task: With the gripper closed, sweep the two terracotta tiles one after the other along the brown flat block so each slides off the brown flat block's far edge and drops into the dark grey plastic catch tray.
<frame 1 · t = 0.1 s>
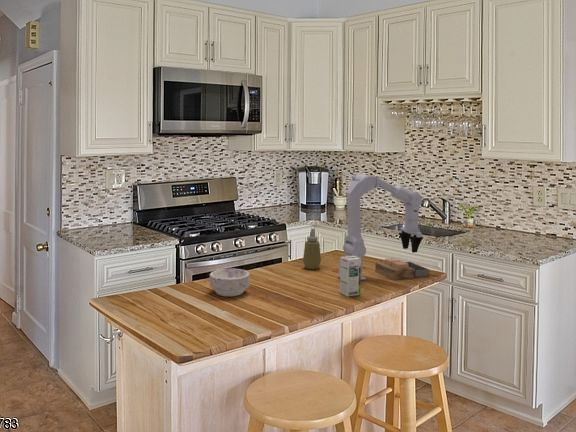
hand: (409, 250, 251), 10 cm above the counter, tool pointing down, fingers open, 7 cm apart
squeeze bottle: (311, 268, 258), on the counter
brown flat block: (394, 274, 249), on the counter
marbled grey bowl: (229, 293, 219), on the counter
syrup box: (349, 294, 220), on the counter
tile far: (392, 263, 251), point 4 cm above the counter, touching brown flat block
catch tray: (412, 272, 252), on the counter
tile near: (400, 267, 246), point 4 cm above the counter, touching brown flat block
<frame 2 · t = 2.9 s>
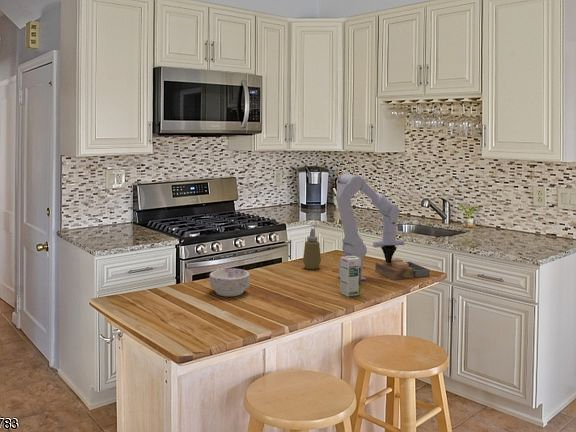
hand: (388, 262, 250), 5 cm above the counter, tool pointing down, fingers closed
tile far: (394, 263, 252), point 4 cm above the counter, touching brown flat block, gripper
everything else where it was.
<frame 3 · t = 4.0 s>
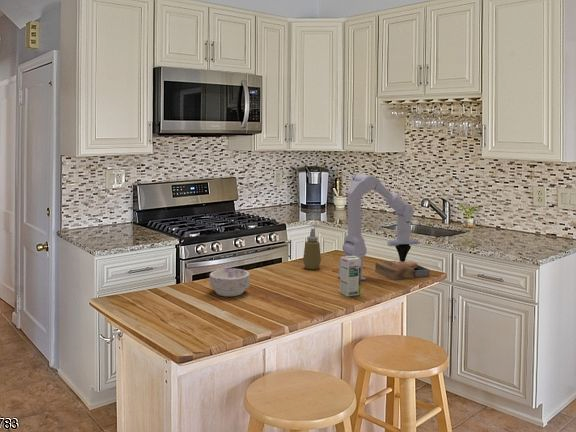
hand: (402, 261, 253), 5 cm above the counter, tool pointing down, fingers closed
tile far: (408, 264, 255), point 3 cm above the counter, tilted 161°, touching catch tray
everything else where it was.
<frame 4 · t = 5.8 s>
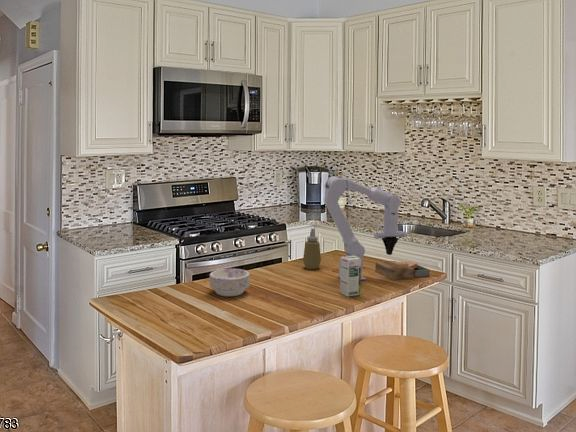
hand: (389, 254, 244), 10 cm above the counter, tool pointing down, fingers closed
nothing on the counter moved.
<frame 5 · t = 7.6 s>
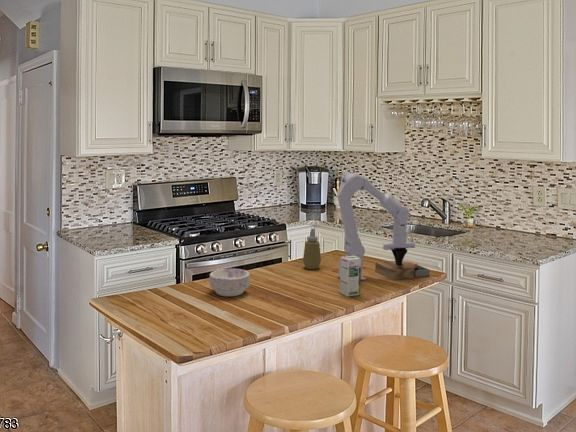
hand: (398, 265, 245), 5 cm above the counter, tool pointing down, fingers closed
tile near: (405, 266, 247), point 4 cm above the counter, touching gripper
everything else where it was.
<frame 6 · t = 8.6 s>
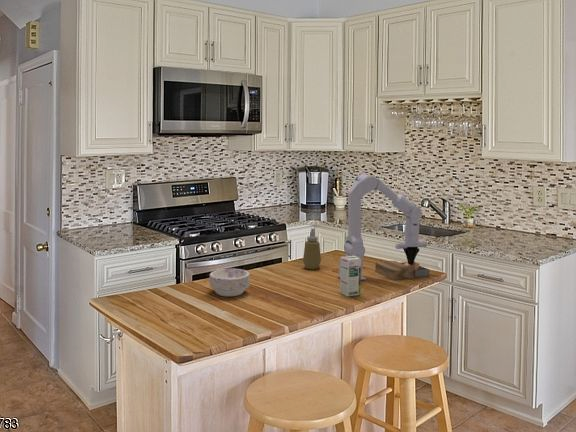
hand: (410, 264, 247), 5 cm above the counter, tool pointing down, fingers closed
tile near: (411, 267, 248), point 3 cm above the counter, tilted 103°, touching catch tray, gripper
everything else where it was.
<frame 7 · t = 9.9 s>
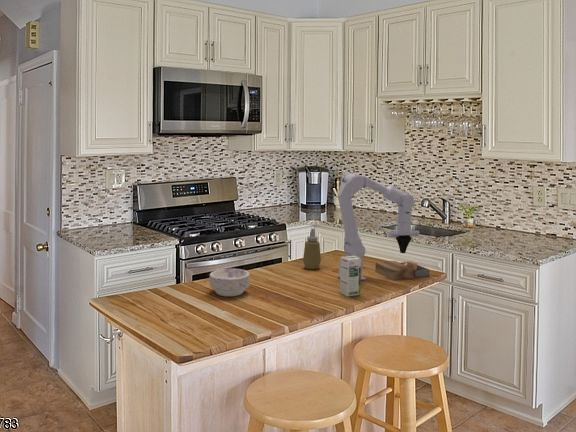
hand: (402, 252, 247), 10 cm above the counter, tool pointing down, fingers closed
tile near: (410, 268, 248), point 3 cm above the counter, tilted 90°, touching catch tray
everything else where it was.
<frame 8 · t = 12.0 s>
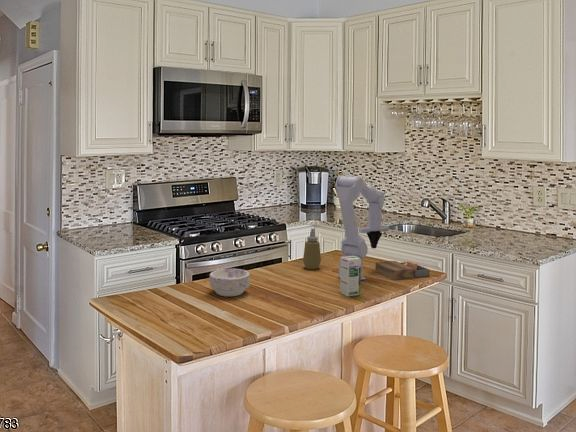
hand: (373, 248, 255), 10 cm above the counter, tool pointing down, fingers closed
nothing on the counter moved.
at the end: tile far inside the target area (3.2 cm from its centre), point 3.1 cm above the counter; tile near inside the target area (4.7 cm from its centre), point 3.1 cm above the counter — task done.
